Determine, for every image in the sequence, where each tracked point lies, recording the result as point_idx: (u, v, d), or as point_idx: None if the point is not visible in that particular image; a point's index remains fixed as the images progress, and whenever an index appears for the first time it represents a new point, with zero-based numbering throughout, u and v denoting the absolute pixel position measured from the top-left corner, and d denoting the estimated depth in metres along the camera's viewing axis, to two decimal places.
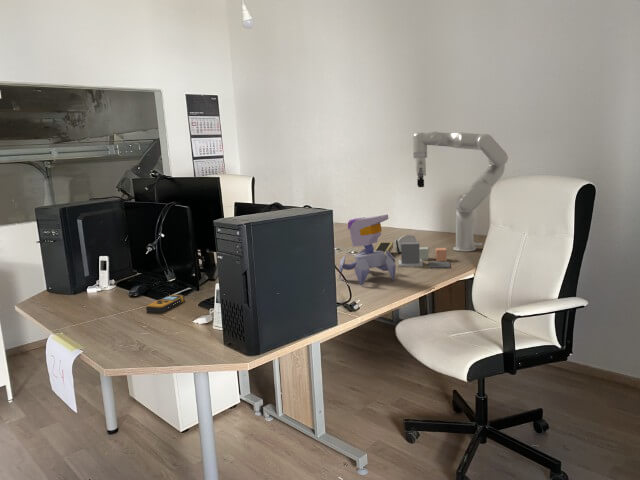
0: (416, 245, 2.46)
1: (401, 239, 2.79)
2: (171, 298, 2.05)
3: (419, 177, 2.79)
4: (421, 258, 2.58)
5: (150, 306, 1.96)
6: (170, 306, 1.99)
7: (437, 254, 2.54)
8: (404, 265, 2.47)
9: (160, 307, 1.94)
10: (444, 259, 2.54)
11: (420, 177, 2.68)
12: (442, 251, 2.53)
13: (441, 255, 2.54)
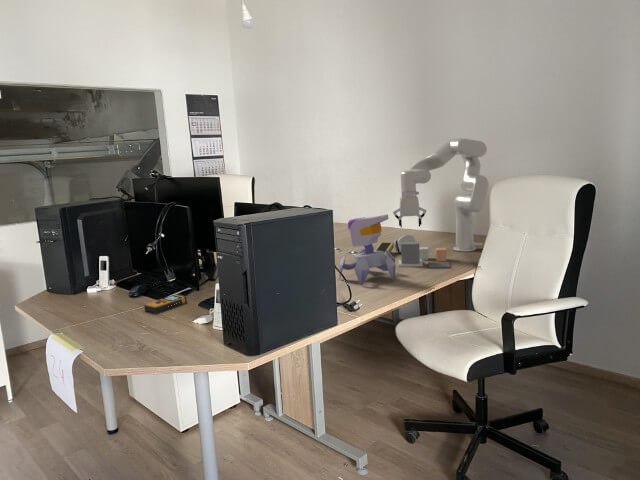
0: (416, 245, 2.46)
1: (401, 239, 2.78)
2: (172, 298, 2.04)
3: (400, 218, 2.59)
4: (421, 258, 2.58)
5: (147, 305, 1.97)
6: (167, 307, 1.98)
7: (437, 254, 2.54)
8: (404, 265, 2.47)
9: (154, 307, 1.95)
10: (444, 259, 2.54)
11: (423, 215, 2.57)
12: (442, 251, 2.53)
13: (441, 255, 2.54)
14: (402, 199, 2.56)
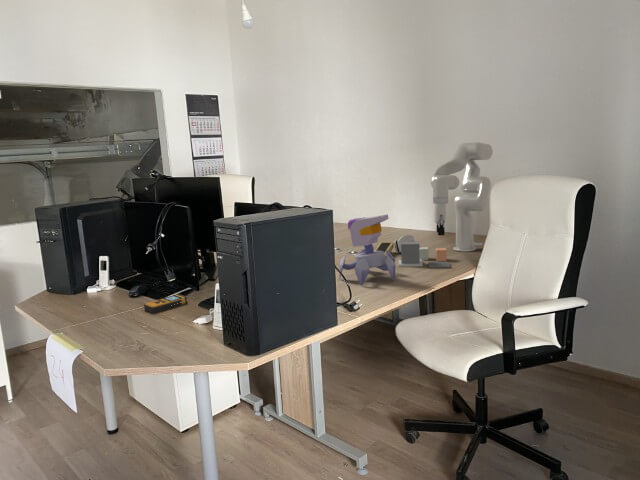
0: (416, 245, 2.46)
1: (401, 239, 2.78)
2: (172, 299, 2.04)
3: None
4: (421, 258, 2.58)
5: (146, 305, 1.98)
6: (165, 307, 1.98)
7: (437, 254, 2.54)
8: (404, 265, 2.47)
9: (152, 307, 1.95)
10: (444, 259, 2.54)
11: None
12: (442, 251, 2.53)
13: (441, 255, 2.54)
14: (445, 205, 2.47)
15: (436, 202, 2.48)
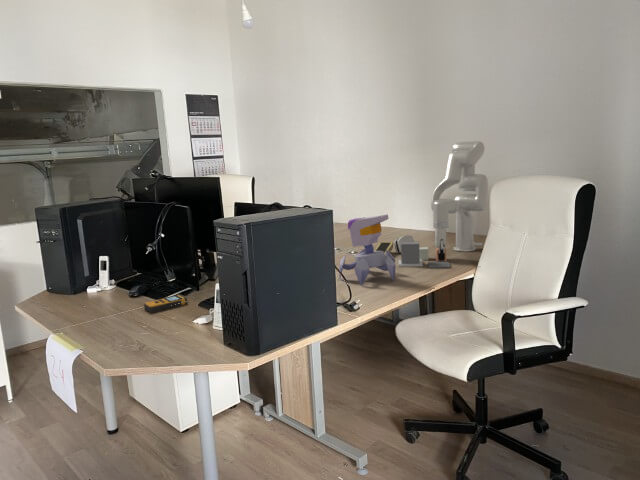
0: (416, 245, 2.46)
1: (400, 239, 2.78)
2: (172, 299, 2.03)
3: None
4: (421, 258, 2.58)
5: (146, 304, 1.99)
6: (163, 307, 1.98)
7: (437, 254, 2.54)
8: (404, 265, 2.47)
9: (150, 307, 1.95)
10: None
11: (440, 247, 2.60)
12: None
13: None
14: (445, 230, 2.50)
15: (436, 227, 2.51)
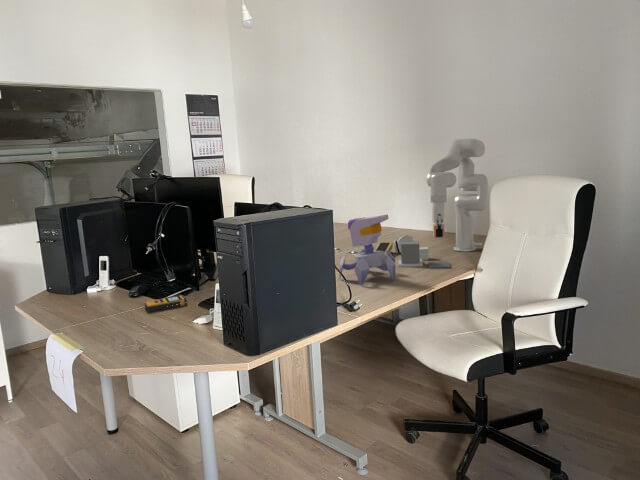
0: (416, 245, 2.46)
1: (400, 239, 2.78)
2: (172, 299, 2.03)
3: None
4: (421, 258, 2.58)
5: (146, 303, 2.00)
6: (161, 307, 1.98)
7: (434, 230, 2.40)
8: (404, 265, 2.47)
9: (148, 306, 1.96)
10: None
11: None
12: None
13: None
14: (443, 204, 2.36)
15: (434, 201, 2.37)
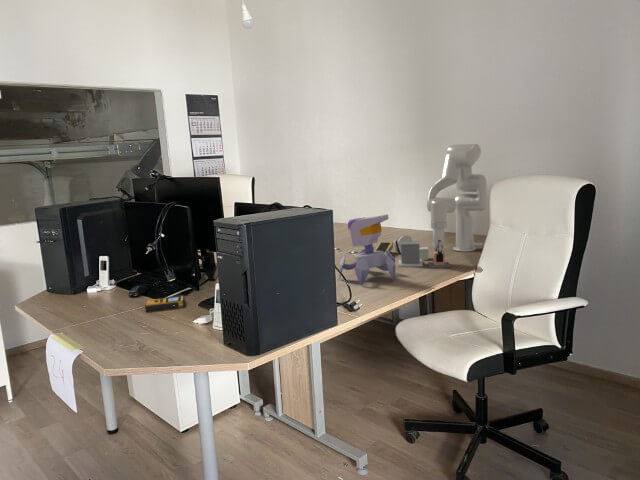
0: (416, 245, 2.46)
1: (400, 240, 2.77)
2: (172, 300, 2.02)
3: None
4: (421, 258, 2.58)
5: (146, 302, 2.02)
6: (159, 307, 1.98)
7: (435, 258, 2.42)
8: (404, 265, 2.47)
9: (146, 305, 1.98)
10: (442, 263, 2.42)
11: (438, 246, 2.49)
12: None
13: None
14: (443, 230, 2.38)
15: (434, 227, 2.39)
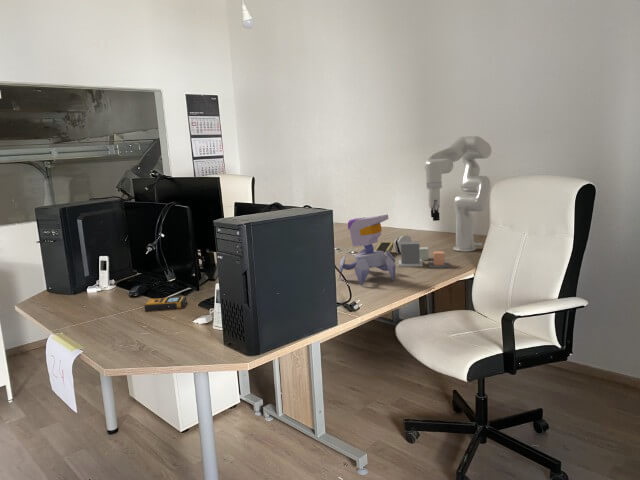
0: (416, 245, 2.46)
1: (400, 240, 2.77)
2: (171, 300, 2.02)
3: None
4: (421, 258, 2.58)
5: (148, 301, 2.04)
6: (157, 307, 1.99)
7: (435, 258, 2.42)
8: (404, 265, 2.47)
9: (145, 304, 1.99)
10: (442, 263, 2.42)
11: None
12: (440, 255, 2.42)
13: (439, 259, 2.42)
14: (439, 190, 2.44)
15: (430, 187, 2.44)
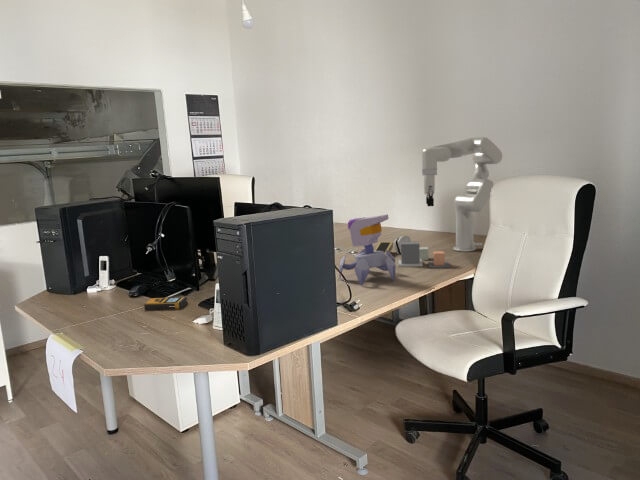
0: (416, 245, 2.46)
1: (400, 240, 2.77)
2: (171, 300, 2.01)
3: None
4: (421, 258, 2.58)
5: (149, 300, 2.05)
6: (156, 307, 1.99)
7: (435, 258, 2.42)
8: (404, 265, 2.47)
9: (145, 304, 2.00)
10: (442, 263, 2.42)
11: None
12: (440, 255, 2.42)
13: (439, 259, 2.42)
14: (434, 176, 2.52)
15: (425, 174, 2.53)
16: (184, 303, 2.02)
